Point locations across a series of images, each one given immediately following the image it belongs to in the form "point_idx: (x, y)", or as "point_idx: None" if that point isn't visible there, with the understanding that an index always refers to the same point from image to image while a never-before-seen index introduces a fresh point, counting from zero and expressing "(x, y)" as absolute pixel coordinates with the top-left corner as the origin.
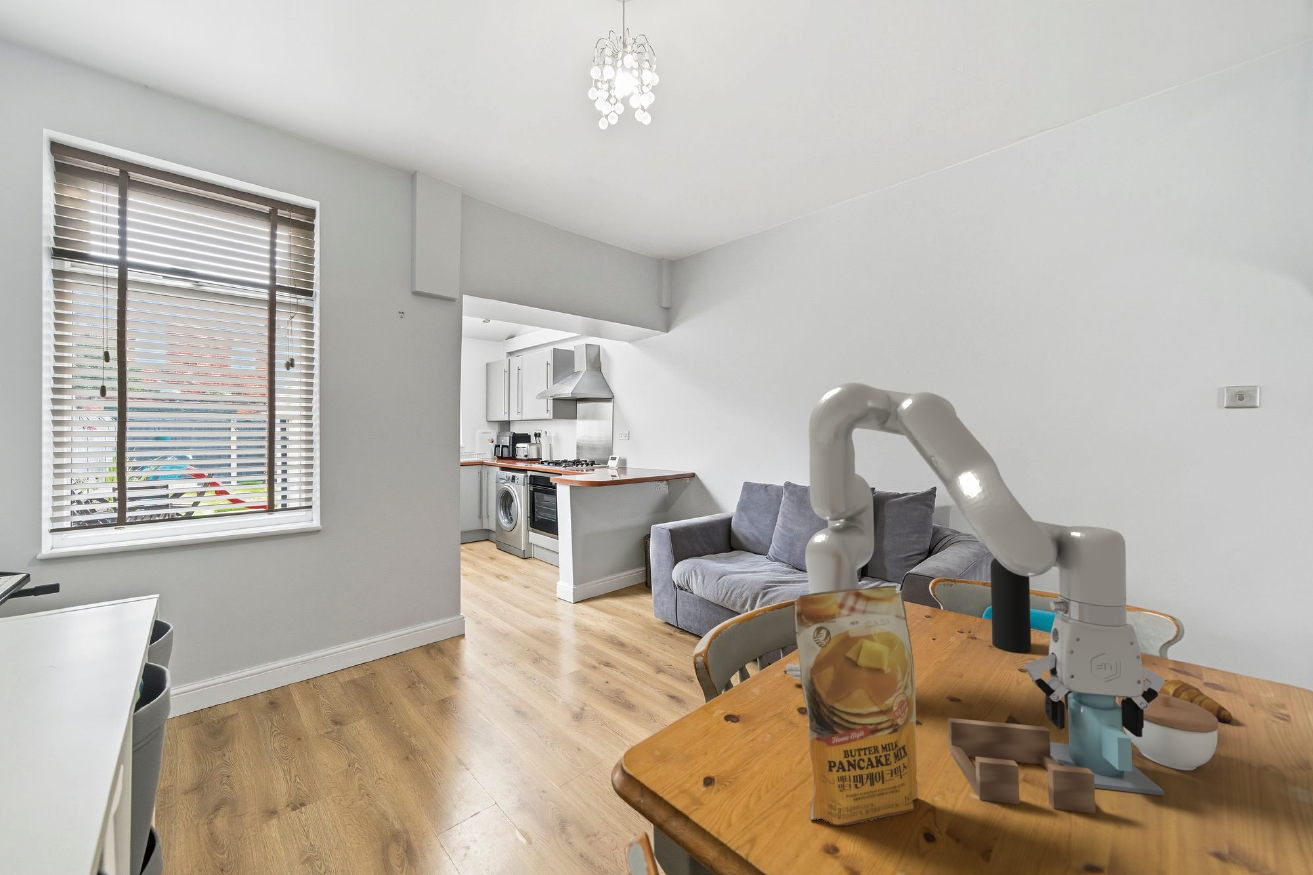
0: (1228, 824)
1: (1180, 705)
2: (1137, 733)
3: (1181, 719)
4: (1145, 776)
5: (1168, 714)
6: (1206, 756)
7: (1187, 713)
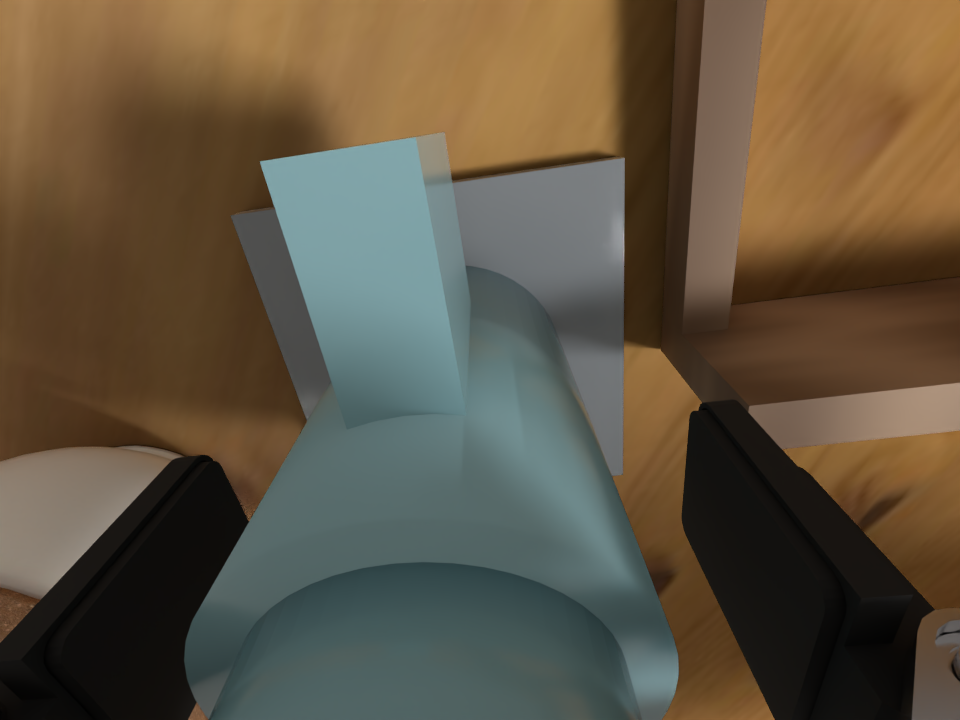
0: (12, 28)
1: None
2: (193, 471)
3: None
4: (277, 326)
5: None
6: None
7: None
